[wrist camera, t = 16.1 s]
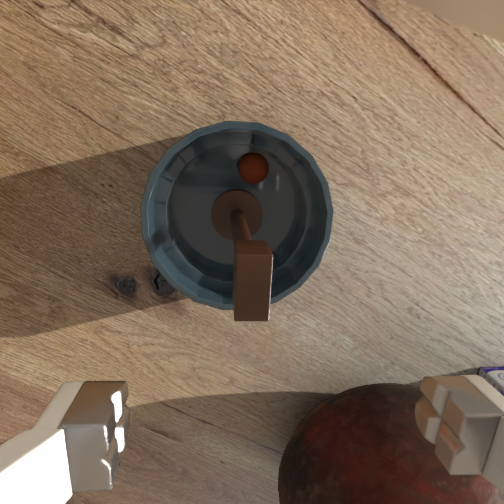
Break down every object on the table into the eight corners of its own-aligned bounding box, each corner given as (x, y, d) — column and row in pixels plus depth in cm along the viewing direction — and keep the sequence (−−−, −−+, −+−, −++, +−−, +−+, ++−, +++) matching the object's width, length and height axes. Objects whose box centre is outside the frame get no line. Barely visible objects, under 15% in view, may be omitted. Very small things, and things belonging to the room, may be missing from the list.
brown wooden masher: (212, 187, 36) (200, 237, 16) (262, 189, 36) (309, 239, 17) (211, 236, 37) (200, 335, 18) (259, 237, 38) (300, 335, 18)
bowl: (151, 121, 34) (136, 115, 28) (322, 130, 36) (343, 127, 29) (157, 283, 39) (145, 309, 33) (306, 285, 41) (322, 310, 34)
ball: (231, 179, 33) (232, 152, 34) (249, 192, 35) (249, 166, 36) (258, 169, 31) (257, 142, 32) (274, 183, 34) (274, 157, 35)
